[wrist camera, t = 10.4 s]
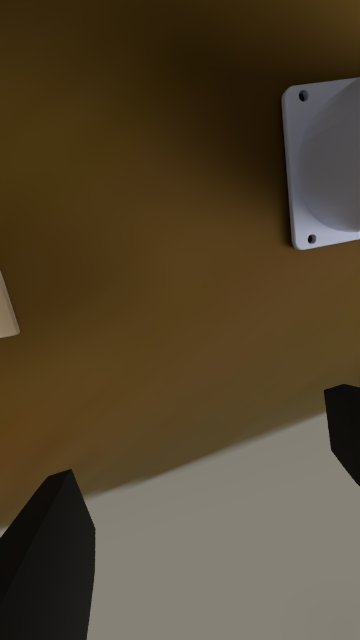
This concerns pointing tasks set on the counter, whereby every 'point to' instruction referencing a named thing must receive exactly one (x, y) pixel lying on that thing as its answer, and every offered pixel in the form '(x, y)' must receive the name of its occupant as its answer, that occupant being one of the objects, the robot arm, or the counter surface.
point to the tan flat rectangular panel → (6, 313)
